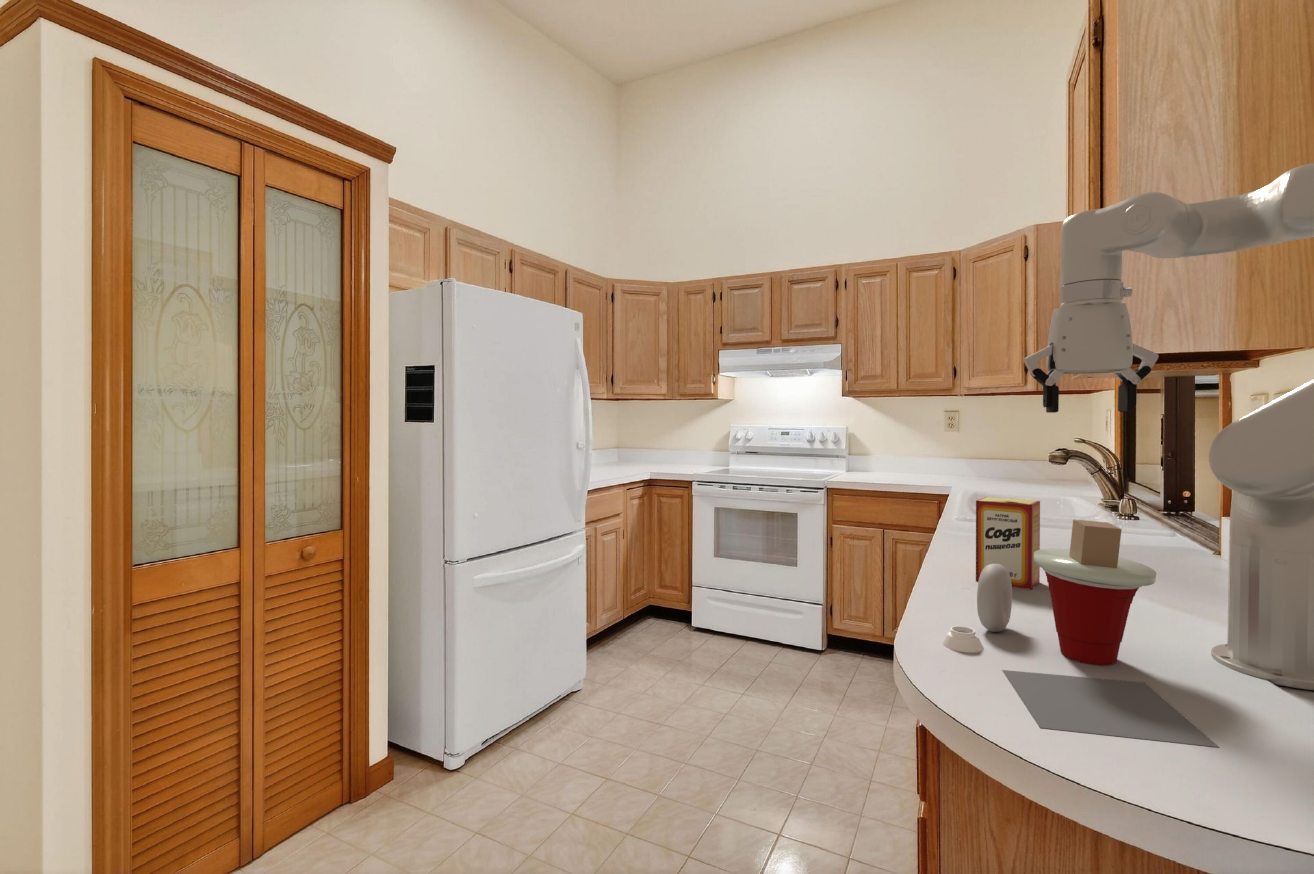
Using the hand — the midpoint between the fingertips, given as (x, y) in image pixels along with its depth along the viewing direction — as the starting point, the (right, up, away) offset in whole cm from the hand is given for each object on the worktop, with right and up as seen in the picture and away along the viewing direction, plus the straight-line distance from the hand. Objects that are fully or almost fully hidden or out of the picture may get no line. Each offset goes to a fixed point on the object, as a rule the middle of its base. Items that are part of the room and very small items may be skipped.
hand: (1088, 412), depth 95 cm
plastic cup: (-8, -33, -13) cm, 36 cm away
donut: (-14, -33, -1) cm, 36 cm away
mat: (-17, -33, -26) cm, 45 cm away
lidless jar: (-23, -33, -8) cm, 41 cm away
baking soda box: (+3, -32, +27) cm, 42 cm away
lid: (-9, -21, -13) cm, 26 cm away
